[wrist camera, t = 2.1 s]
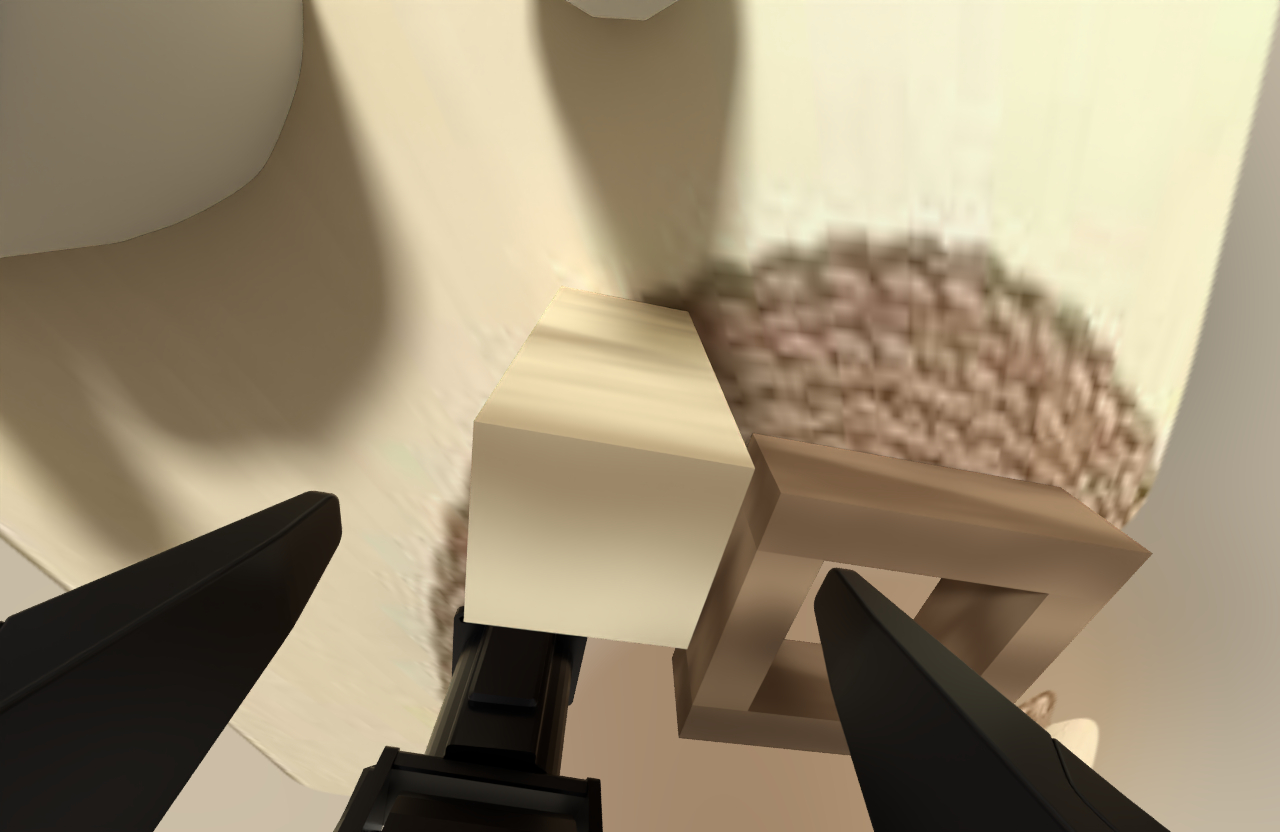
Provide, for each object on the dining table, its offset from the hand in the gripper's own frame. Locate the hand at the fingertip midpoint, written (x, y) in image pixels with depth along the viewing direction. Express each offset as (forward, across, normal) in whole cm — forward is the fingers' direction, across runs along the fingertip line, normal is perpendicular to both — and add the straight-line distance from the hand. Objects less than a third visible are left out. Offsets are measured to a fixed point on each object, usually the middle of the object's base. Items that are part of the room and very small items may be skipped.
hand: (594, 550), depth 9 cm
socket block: (+10, -13, +9) cm, 19 cm away
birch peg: (+10, 0, 0) cm, 10 cm away
